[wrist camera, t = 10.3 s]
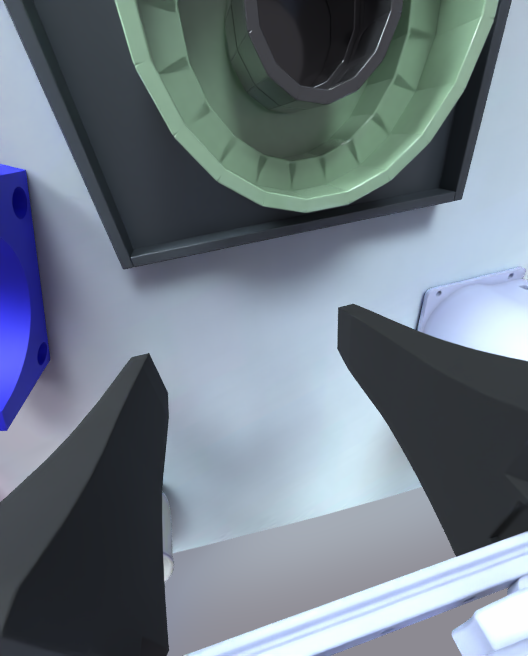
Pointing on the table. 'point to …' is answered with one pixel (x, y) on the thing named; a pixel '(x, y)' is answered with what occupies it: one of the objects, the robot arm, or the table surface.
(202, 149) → the sage bowl
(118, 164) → the tray
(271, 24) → the black cup
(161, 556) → the robot arm
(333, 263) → the table surface
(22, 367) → the blue curved stand
